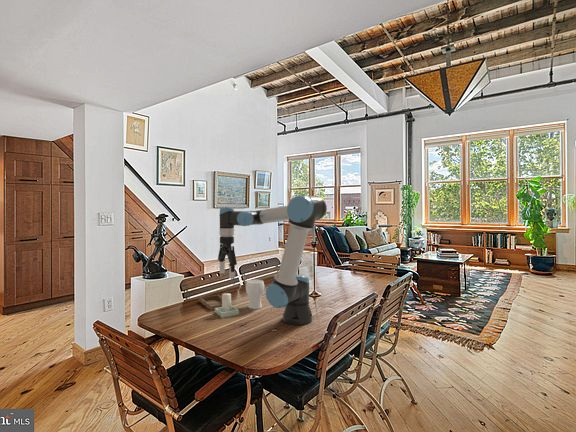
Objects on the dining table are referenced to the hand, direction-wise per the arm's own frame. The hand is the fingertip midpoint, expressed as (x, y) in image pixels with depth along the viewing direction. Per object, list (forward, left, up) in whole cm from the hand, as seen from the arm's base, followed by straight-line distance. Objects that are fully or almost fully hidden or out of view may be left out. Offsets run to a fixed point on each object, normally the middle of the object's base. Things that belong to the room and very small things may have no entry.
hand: (227, 275), depth 181 cm
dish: (0, 0, -21) cm, 21 cm away
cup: (+2, -18, -21) cm, 28 cm away
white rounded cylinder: (0, 0, -20) cm, 20 cm away
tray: (+18, 0, -21) cm, 27 cm away
